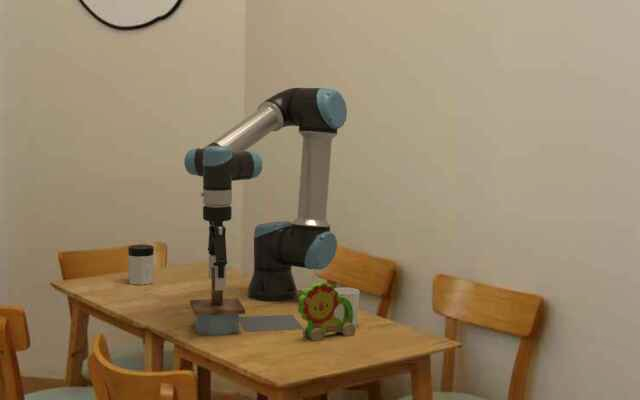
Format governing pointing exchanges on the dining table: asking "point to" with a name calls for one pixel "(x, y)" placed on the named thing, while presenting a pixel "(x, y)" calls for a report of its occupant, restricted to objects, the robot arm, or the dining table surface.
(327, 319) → the toy lion
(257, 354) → the dining table surface
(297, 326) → the mat
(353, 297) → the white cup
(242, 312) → the lid
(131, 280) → the jar
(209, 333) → the bowl
